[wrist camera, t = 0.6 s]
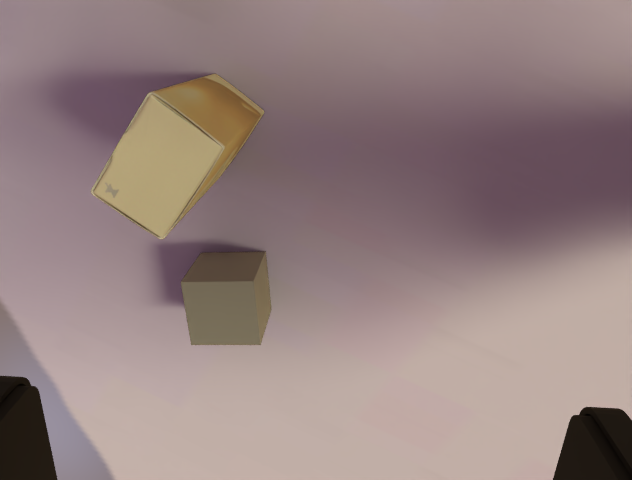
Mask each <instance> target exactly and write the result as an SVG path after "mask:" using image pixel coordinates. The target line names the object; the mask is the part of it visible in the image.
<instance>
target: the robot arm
mask: <svg viewBox="0 0 632 480" xmlns="http://www.w3.org/2000/svg"><path fill="white" fill-rule="evenodd" d="M0 480H57V476H56V471H55V466H54V461H53V456H52V451H51V447H50V442H49V437H48V432H47V428H46V423H45V418H44V414H43V409H42V404H41V399H40V394H39V391H38V389H37V388H36V387H34V386H31V384H30V382H29V380H28V379H27V378H24V377H11V376H0ZM553 480H632V420H631V419H630V418H629V416H628V415H627V414H626V413H625V412H624V411H623V410H621V409H616V408H597V407H585V408H583V409H582V410H581V412H580V414H579V415H573V416H572V417H571V419H570V422H569V425H568V429H567V432H566V436H565V439H564V443H563V446H562V450H561V453H560V457H559V460H558V464H557V467H556V471H555V474H554V478H553Z"/></svg>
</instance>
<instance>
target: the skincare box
mask: <svg viewBox="0 0 632 480" xmlns="http://www.w3.org/2000/svg"><path fill="white" fill-rule="evenodd" d="M263 114H264V111H263V110H262V109H261V108H260V107H259V106H257V105H256V104H255V103H254V102H253V101H251V100H250V99H249V98H247V97H246V96H245V95H244V94H242V93H241V92H240V91H239V90H237V89H236V88H235V87H233V86H232V85H231V84H229V83H228V82H227V81H225V80H224V79H223V78H221V77H220V76H218V75H217V74H211V75H208V76H204V77H201V78H197V79H194V80H190V81H187V82H183V83H180V84H176V85H173V86H170V87H166V88H163V89H159V90H156V91H152V92H149V93H148V94H147V96H146V98H145V99H144V101H143V102H142V104H141V106H140V107H139V109H138V111H137V112H136V114H135V116H134V117H133V119H132V121H131V122H130V124H129V126H128V128H127V129H126V131H125V133H124V134H123V136H122V137H121V139H120V141H119V143H118V144H117V146H116V148H115V150H114V151H113V153H112V155H111V157H110V159H109V160H108V162H107V164H106V165H105V167H104V169H103V171H102V172H101V174H100V176H99V177H98V179H97V181H96V183H95V184H94V186H93V188H92V189H91V194H92V195H94V196H95V197H97V198H98V199H100V200H101V201H103V202H104V203H105V204H107V205H108V206H110V207H111V208H113V209H114V210H116V211H117V212H118V213H120V214H122V215H123V216H125V217H126V218H127V219H129V220H130V221H132V222H133V223H135V224H136V225H138V226H139V227H141V228H143V229H144V230H146V231H147V232H149V233H151V234H153V235H154V236H156V237H157V238H159V239H164V238H165V237H166V236H167V235H168V233H169V232H170V231H171V230H172V229H173V228H174V227H175V225H176V224H177V223H178V222H179V221H180V220H181V219H182V218H183V217H184V216H185V214H186V213H187V212H188V211H189V210H190V209H191V208H192V207H193V206H194V205H195V204H196V202H197V201H198V200H199V199H200V198H201V197H202V196H203V195H204V194H205V193H206V192H207V191H208V189H209V188H210V187H211V186H212V185H213V184H214V183H215V182H216V181H217V180H218V179H219V178H220V176H221V175H222V174H223V172H224V171H225V170H226V168H227V167H228V166H229V164H230V163H231V162H232V160H233V159H234V158H235V156H236V155H237V153H238V152H239V151H240V149H241V148H242V146H243V145H244V143H245V142H246V140H247V139H248V137H249V136H250V134H251V133H252V131H253V129H254V128H255V126H256V125H257V123H258V122H259V120H260V119H261V117H262V116H263Z"/></svg>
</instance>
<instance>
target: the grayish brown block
mask: <svg viewBox="0 0 632 480" xmlns="http://www.w3.org/2000/svg"><path fill="white" fill-rule="evenodd" d="M181 287H182V293H183V299H184V305H185V311H186V316H187V322H188V328H189V334H190V340H191V345H261V342H262V338H263V335H264V332H265V329H266V325H267V322H268V319H269V316H270V312H271V300H270V290H269V280H268V270H267V260H266V251H262V252H210V253H200V255H199V256H198V258H197V259H196V261H195V262H194V263H193V265H192V266H191V268H190V269H189V271H188V272H187V274H186V275H185V277H184V278H183V280H182V281H181Z"/></svg>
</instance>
